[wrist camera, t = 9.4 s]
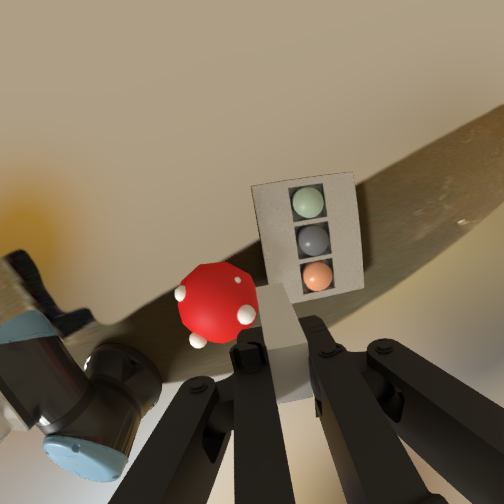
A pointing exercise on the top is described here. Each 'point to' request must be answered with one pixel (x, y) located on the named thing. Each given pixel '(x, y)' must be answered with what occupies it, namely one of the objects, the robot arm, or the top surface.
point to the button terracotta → (316, 275)
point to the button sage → (307, 202)
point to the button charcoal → (312, 239)
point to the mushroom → (216, 303)
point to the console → (289, 223)
